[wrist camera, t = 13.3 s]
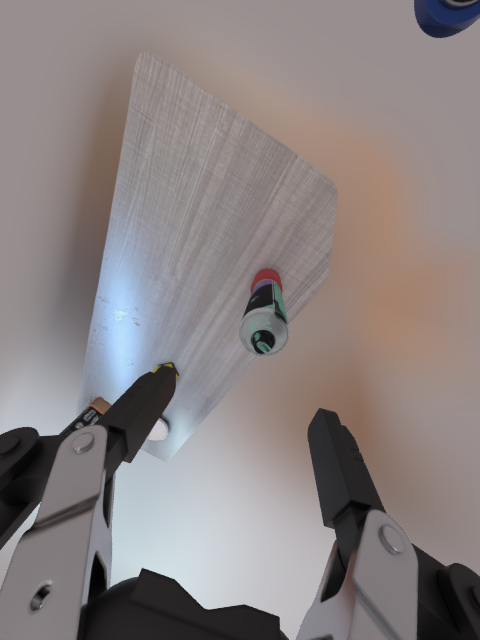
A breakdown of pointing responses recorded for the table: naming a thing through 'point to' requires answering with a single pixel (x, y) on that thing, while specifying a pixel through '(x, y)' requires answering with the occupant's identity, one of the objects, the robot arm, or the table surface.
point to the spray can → (265, 320)
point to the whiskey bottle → (88, 416)
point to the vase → (158, 431)
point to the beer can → (267, 277)
